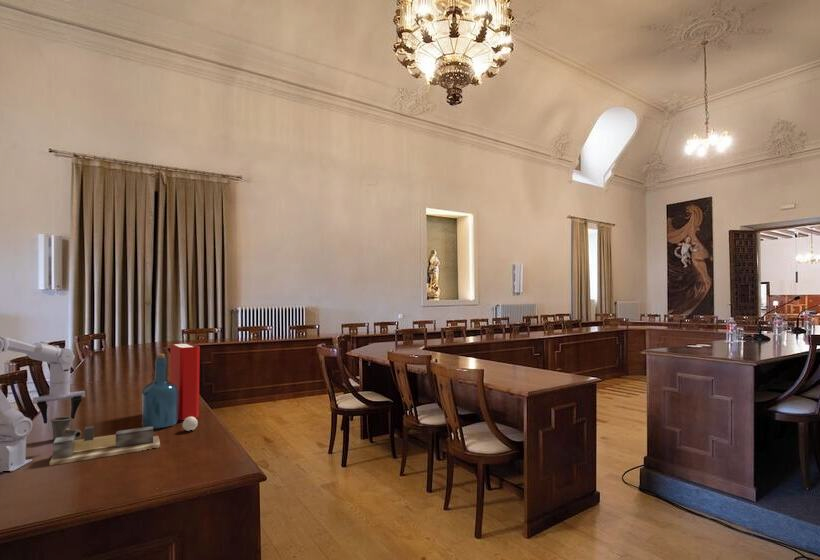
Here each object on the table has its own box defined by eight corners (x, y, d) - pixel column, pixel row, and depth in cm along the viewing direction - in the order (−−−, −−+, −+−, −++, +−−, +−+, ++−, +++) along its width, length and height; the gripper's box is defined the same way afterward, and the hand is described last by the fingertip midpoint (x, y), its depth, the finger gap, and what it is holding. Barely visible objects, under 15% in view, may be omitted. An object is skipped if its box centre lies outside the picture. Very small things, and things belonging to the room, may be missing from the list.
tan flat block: (62, 453, 147) (63, 432, 148) (63, 450, 150) (64, 429, 150) (131, 442, 158) (131, 422, 158) (131, 440, 160) (131, 421, 161)
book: (169, 409, 214) (170, 342, 215) (187, 406, 219) (188, 341, 220) (179, 421, 192) (180, 347, 193) (199, 418, 197) (200, 346, 198)
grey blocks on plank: (49, 465, 142) (50, 445, 142) (55, 454, 152) (55, 435, 153) (160, 447, 159) (160, 429, 159) (158, 438, 169) (158, 421, 169)
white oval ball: (180, 433, 175) (181, 419, 176) (184, 429, 181) (184, 415, 181) (201, 431, 178) (201, 417, 178) (204, 427, 183) (204, 414, 183)
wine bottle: (169, 419, 196) (170, 351, 197) (183, 424, 187) (184, 353, 189) (135, 426, 185) (136, 354, 186) (148, 432, 177) (149, 357, 178)
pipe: (70, 443, 164) (71, 422, 164) (45, 440, 167) (45, 419, 168) (86, 438, 170) (87, 417, 170) (61, 436, 173) (62, 415, 173)
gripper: (35, 386, 149) (34, 427, 149) (87, 380, 160) (86, 418, 160) (32, 384, 154) (31, 423, 154) (82, 378, 165) (82, 414, 164)
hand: (59, 420), depth 157 cm, fingers open, 7 cm apart
